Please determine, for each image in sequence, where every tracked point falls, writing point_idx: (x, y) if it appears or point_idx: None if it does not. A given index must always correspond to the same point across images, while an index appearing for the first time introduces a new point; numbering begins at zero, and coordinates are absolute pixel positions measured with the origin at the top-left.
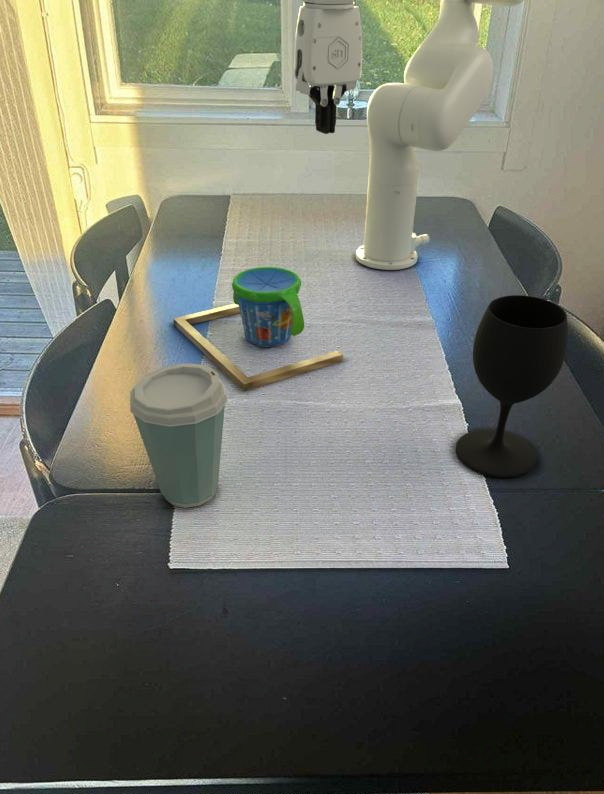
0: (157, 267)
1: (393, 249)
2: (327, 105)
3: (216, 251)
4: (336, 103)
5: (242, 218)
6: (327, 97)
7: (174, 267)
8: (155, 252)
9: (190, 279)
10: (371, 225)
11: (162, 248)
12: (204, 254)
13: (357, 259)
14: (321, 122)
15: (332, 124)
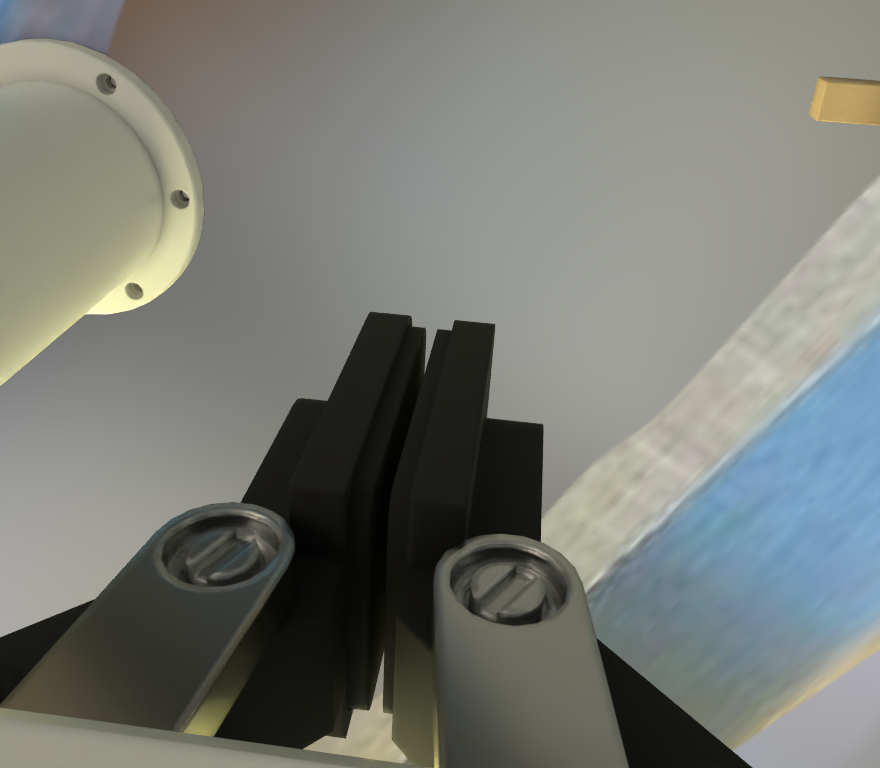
0: (874, 598)
1: (59, 104)
2: (362, 603)
3: (611, 593)
4: (235, 534)
5: (358, 739)
6: (288, 737)
7: (828, 568)
8: (786, 689)
9: (863, 461)
10: (92, 239)
11: (743, 700)
12: (663, 595)
13: (199, 233)
14: (526, 444)
15: (397, 352)
